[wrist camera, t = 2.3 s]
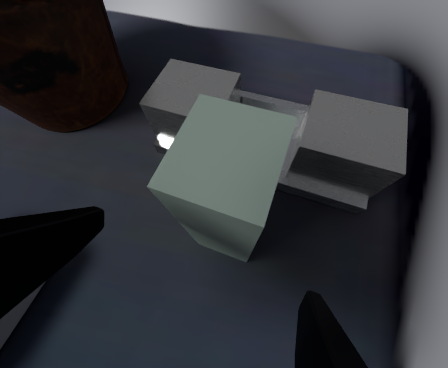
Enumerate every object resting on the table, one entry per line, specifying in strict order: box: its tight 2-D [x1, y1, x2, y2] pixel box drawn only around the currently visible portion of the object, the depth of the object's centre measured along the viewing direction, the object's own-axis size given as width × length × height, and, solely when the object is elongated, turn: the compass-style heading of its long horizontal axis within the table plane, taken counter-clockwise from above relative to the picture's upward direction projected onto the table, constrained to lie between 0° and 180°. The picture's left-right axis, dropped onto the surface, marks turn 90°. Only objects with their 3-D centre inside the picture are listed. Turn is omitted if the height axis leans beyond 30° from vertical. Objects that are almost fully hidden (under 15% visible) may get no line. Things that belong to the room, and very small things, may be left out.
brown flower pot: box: [0, 0, 128, 132], centre depth 20 cm, size 18×20×18 cm
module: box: [147, 94, 297, 262], centre depth 14 cm, size 5×4×12 cm
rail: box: [139, 59, 408, 215], centre depth 20 cm, size 8×21×6 cm, turn 69°
